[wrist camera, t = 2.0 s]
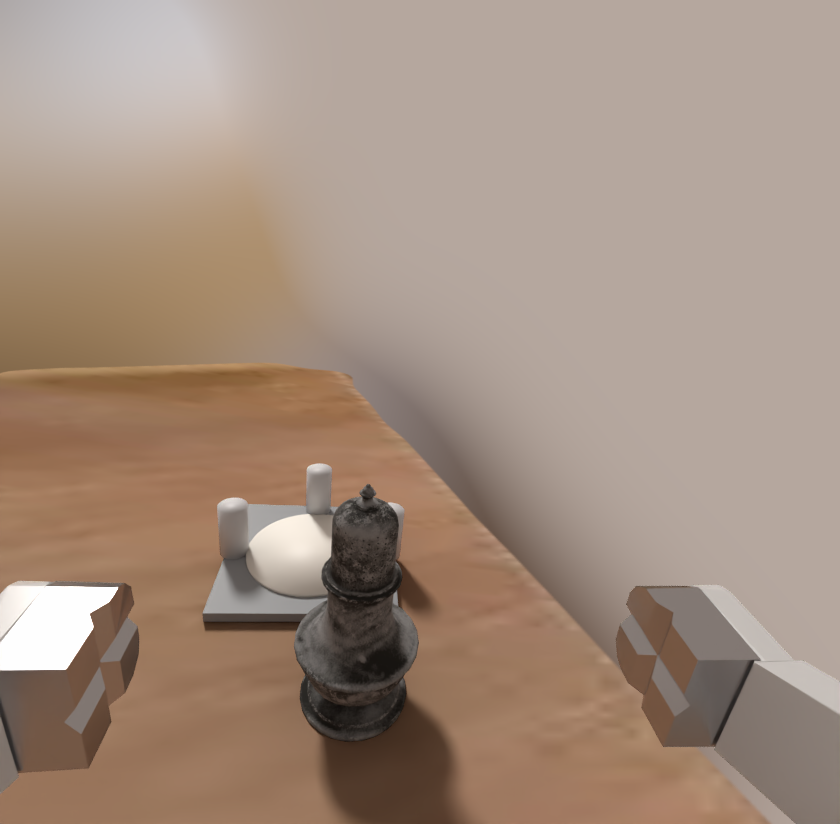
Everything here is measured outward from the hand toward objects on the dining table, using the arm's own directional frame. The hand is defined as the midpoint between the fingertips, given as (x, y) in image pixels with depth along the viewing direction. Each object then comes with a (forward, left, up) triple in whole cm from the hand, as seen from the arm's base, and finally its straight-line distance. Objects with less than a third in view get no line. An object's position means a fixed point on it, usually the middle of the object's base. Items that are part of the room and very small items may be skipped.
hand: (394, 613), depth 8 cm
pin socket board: (-3, +22, -17) cm, 28 cm away
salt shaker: (0, +12, -17) cm, 21 cm away
